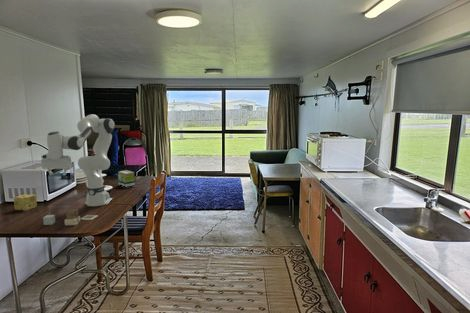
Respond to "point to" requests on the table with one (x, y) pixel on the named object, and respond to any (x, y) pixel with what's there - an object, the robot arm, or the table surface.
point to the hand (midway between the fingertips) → (57, 175)
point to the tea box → (126, 178)
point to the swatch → (89, 217)
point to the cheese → (25, 202)
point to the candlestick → (103, 181)
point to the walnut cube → (72, 214)
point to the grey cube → (49, 219)
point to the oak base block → (72, 221)
